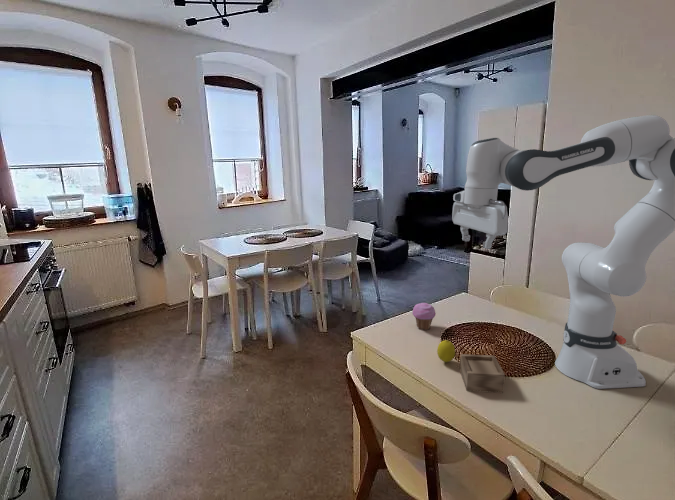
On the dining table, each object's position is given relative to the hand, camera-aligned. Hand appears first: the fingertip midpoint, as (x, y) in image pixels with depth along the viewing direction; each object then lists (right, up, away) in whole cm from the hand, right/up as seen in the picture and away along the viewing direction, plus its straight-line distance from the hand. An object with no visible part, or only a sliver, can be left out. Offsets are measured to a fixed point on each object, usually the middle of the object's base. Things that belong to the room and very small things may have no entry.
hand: (475, 244), depth 106 cm
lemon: (-6, -39, +11) cm, 41 cm away
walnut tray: (+2, -41, +1) cm, 41 cm away
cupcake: (-7, -32, +35) cm, 48 cm away
